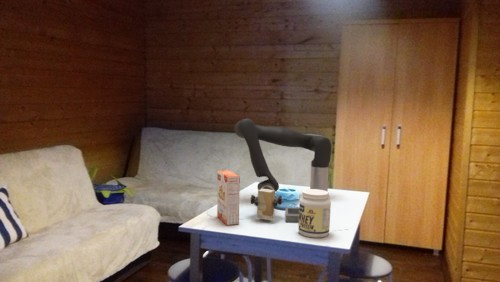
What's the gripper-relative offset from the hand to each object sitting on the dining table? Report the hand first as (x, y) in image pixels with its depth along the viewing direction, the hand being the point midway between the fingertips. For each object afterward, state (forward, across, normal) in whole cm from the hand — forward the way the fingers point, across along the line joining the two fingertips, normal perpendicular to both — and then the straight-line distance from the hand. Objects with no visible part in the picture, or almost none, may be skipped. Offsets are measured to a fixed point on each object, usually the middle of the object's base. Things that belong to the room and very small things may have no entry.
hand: (265, 204), depth 183 cm
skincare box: (-2, 0, +7) cm, 7 cm away
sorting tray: (-8, +15, +8) cm, 19 cm away
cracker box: (0, -16, +8) cm, 18 cm away
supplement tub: (+12, +20, +8) cm, 24 cm away
